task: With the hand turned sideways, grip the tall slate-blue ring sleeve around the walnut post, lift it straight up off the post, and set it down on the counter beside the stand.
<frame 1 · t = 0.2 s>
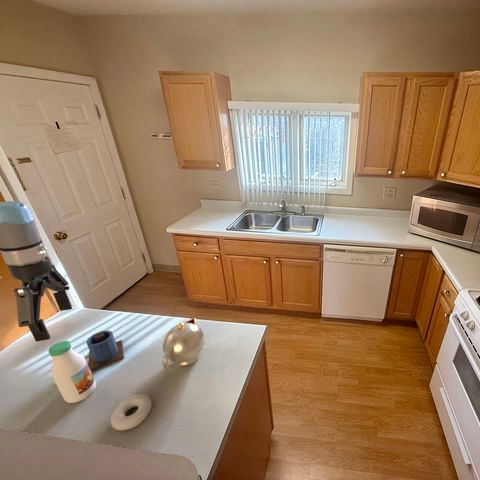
hand: (55, 323, 75), 25 cm above the counter, tool pointing down, fingers open, 13 cm apart
post stand: (106, 355, 95), on the counter
teapot: (185, 361, 95), on the counter
ring sleeve: (106, 354, 94), point 1 cm above the counter, touching post stand
donut: (133, 415, 76), on the counter
milk bottle: (81, 392, 82), on the counter
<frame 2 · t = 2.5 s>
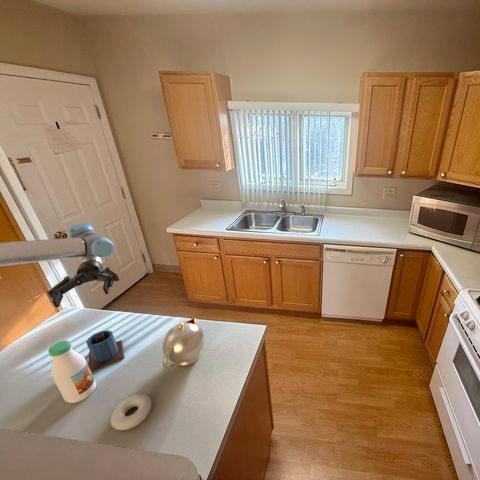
hand: (81, 297, 89), 23 cm above the counter, tool horizontal, fingers open, 13 cm apart
nothing on the counter moved.
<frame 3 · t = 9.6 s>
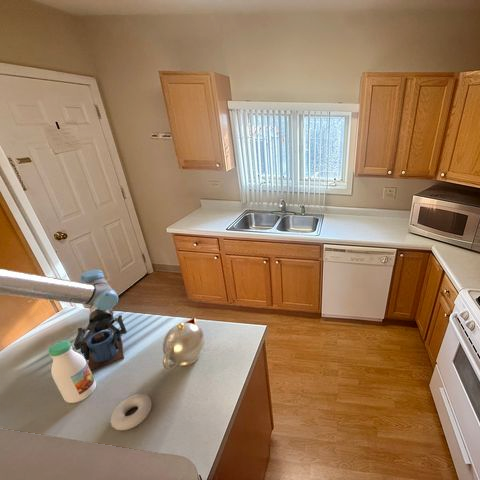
hand: (101, 351, 89), 6 cm above the counter, tool horizontal, fingers closed on ring sleeve, 7 cm apart
ring sleeve: (106, 354, 94), point 1 cm above the counter, touching gripper, post stand
everything else where it was.
when the fingers open (5 cm above the counter, at t = 19.6 s): ring sleeve stays where it is, on the counter.
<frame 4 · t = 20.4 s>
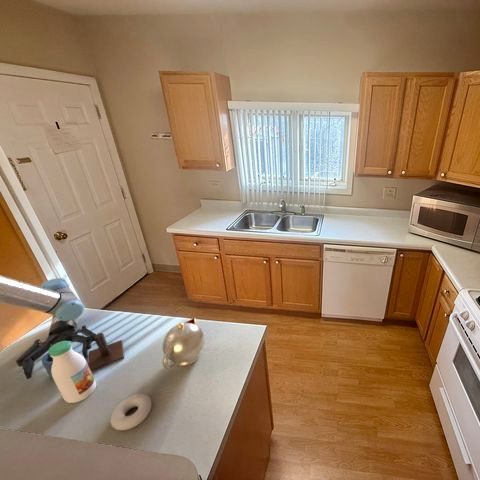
hand: (57, 365, 83), 6 cm above the counter, tool horizontal, fingers open, 13 cm apart
ring sleeve: (65, 371, 88), on the counter
everything else where it was.
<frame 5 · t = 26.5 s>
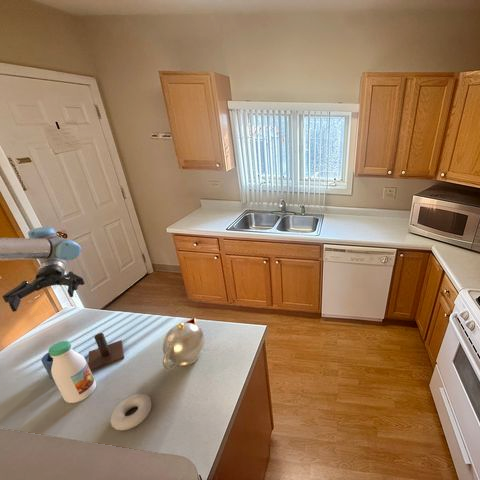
hand: (42, 300, 85), 24 cm above the counter, tool horizontal, fingers open, 13 cm apart
nothing on the counter moved.
at the end: ring sleeve inside the target area (0.0 cm from its centre), on the counter; ring sleeve touching counter; ring sleeve tilted 0° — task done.
